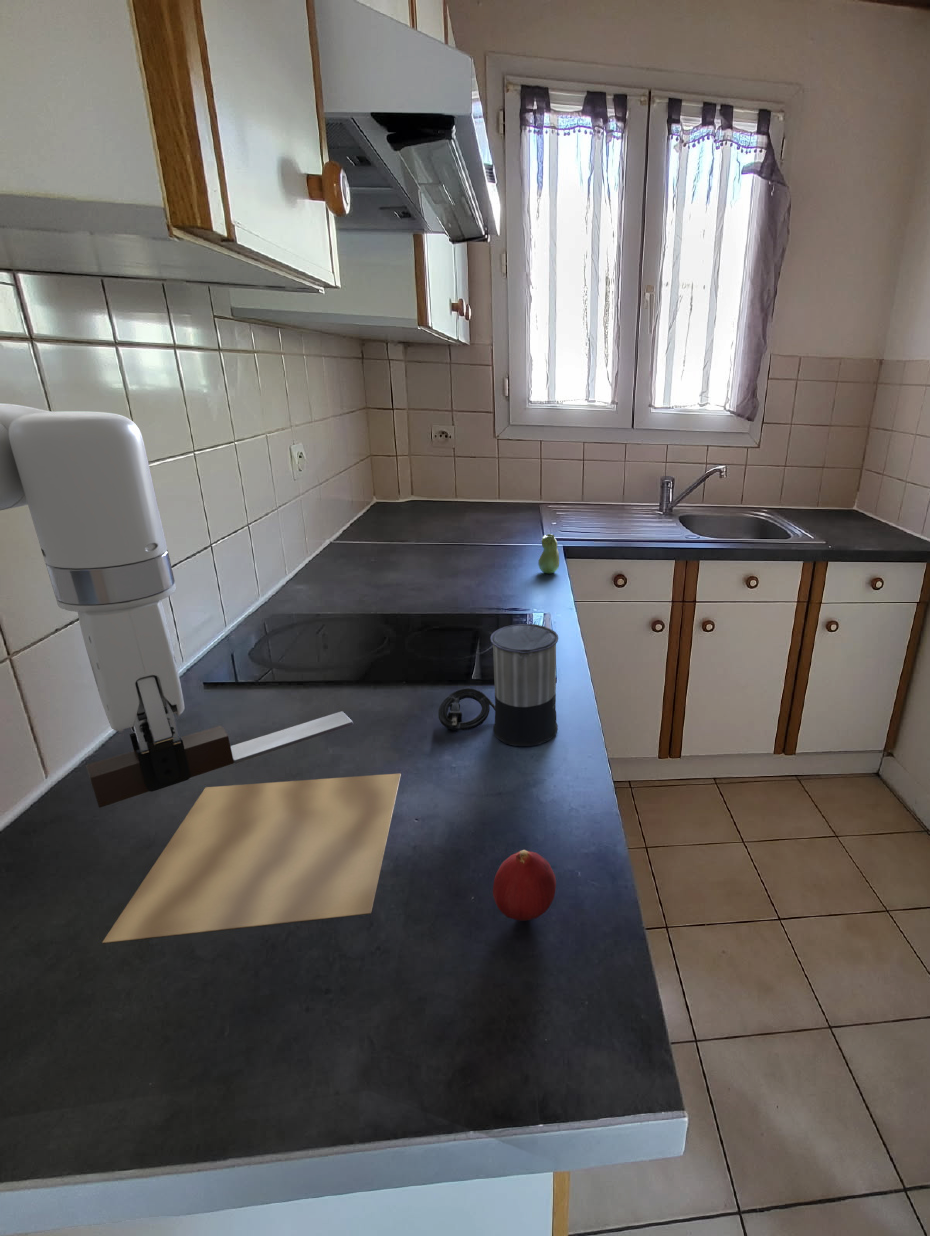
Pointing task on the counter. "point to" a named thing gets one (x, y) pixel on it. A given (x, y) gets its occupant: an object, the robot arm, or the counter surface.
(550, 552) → the pear
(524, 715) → the milk frother
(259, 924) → the chopping board
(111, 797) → the knife
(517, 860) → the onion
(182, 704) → the robot arm
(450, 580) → the counter surface
